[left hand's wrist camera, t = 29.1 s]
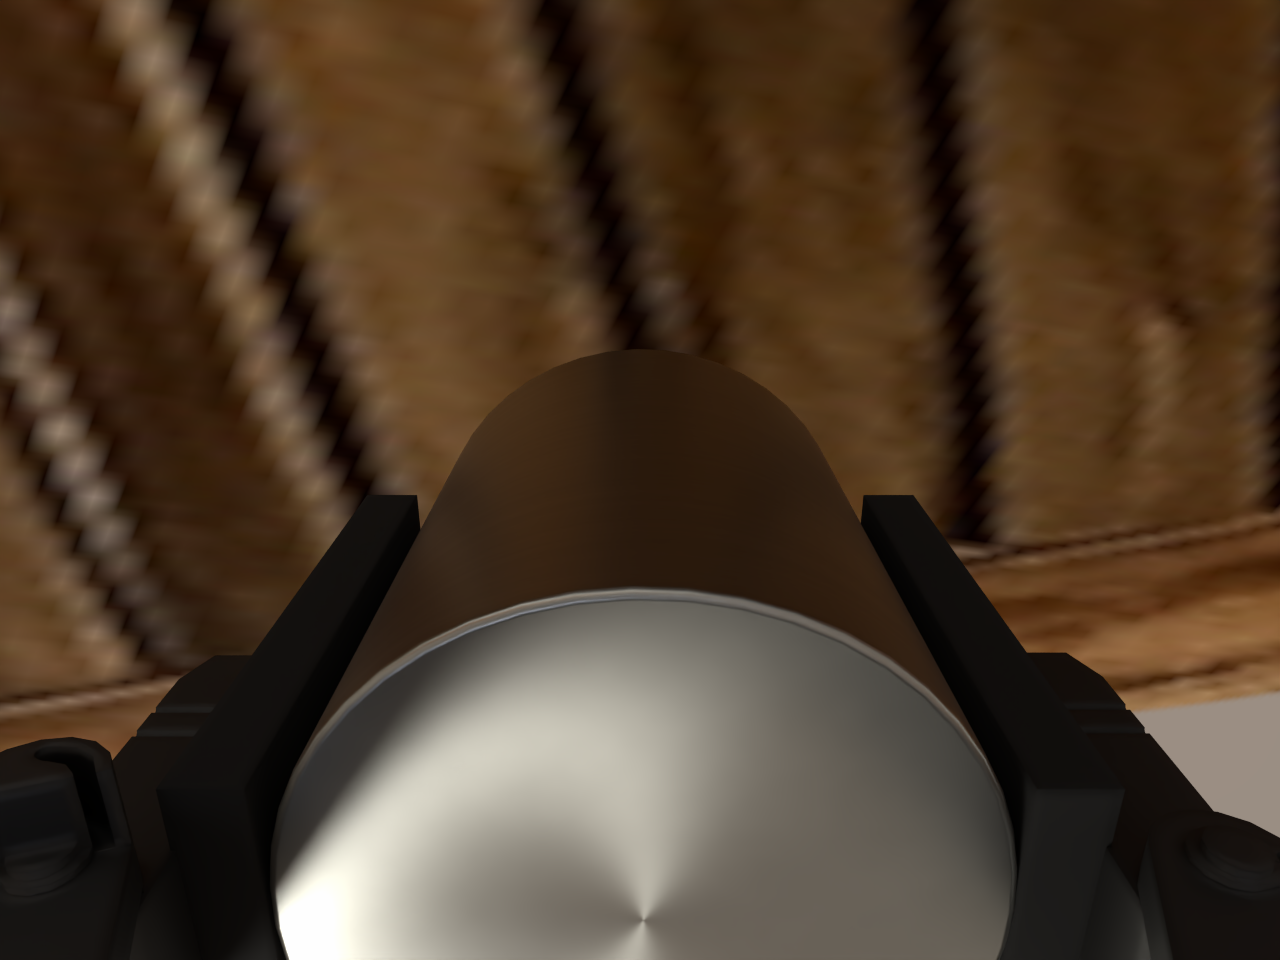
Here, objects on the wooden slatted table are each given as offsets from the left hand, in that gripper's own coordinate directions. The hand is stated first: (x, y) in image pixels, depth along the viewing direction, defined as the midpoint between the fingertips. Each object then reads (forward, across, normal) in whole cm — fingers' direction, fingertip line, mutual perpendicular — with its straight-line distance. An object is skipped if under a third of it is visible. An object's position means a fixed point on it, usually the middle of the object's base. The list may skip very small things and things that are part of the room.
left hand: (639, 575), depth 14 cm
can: (+1, 0, 0) cm, 1 cm away
